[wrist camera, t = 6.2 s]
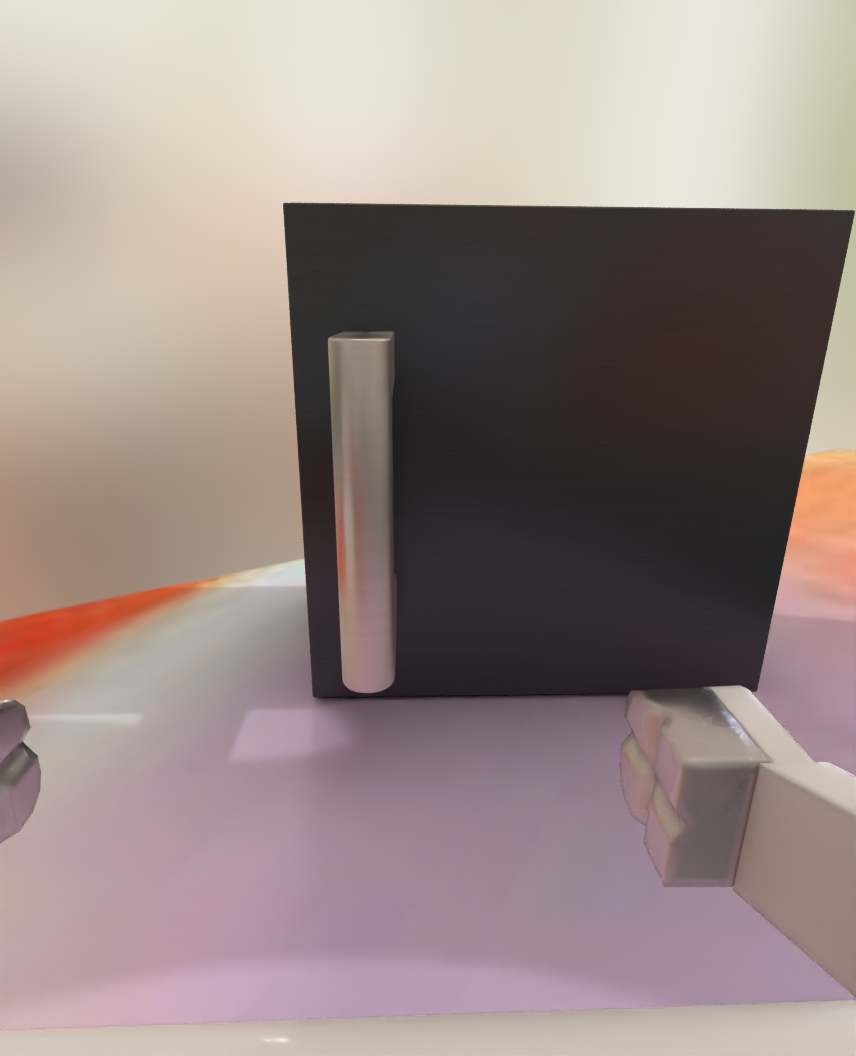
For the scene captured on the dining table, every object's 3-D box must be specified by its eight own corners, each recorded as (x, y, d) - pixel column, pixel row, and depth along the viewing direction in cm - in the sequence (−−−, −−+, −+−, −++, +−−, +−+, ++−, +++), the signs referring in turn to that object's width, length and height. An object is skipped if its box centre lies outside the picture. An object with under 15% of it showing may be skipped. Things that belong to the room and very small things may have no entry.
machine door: (843, 786, 20) (1008, 177, 15) (289, 796, 20) (239, 166, 14) (747, 680, 26) (839, 213, 20) (315, 685, 26) (287, 206, 20)
